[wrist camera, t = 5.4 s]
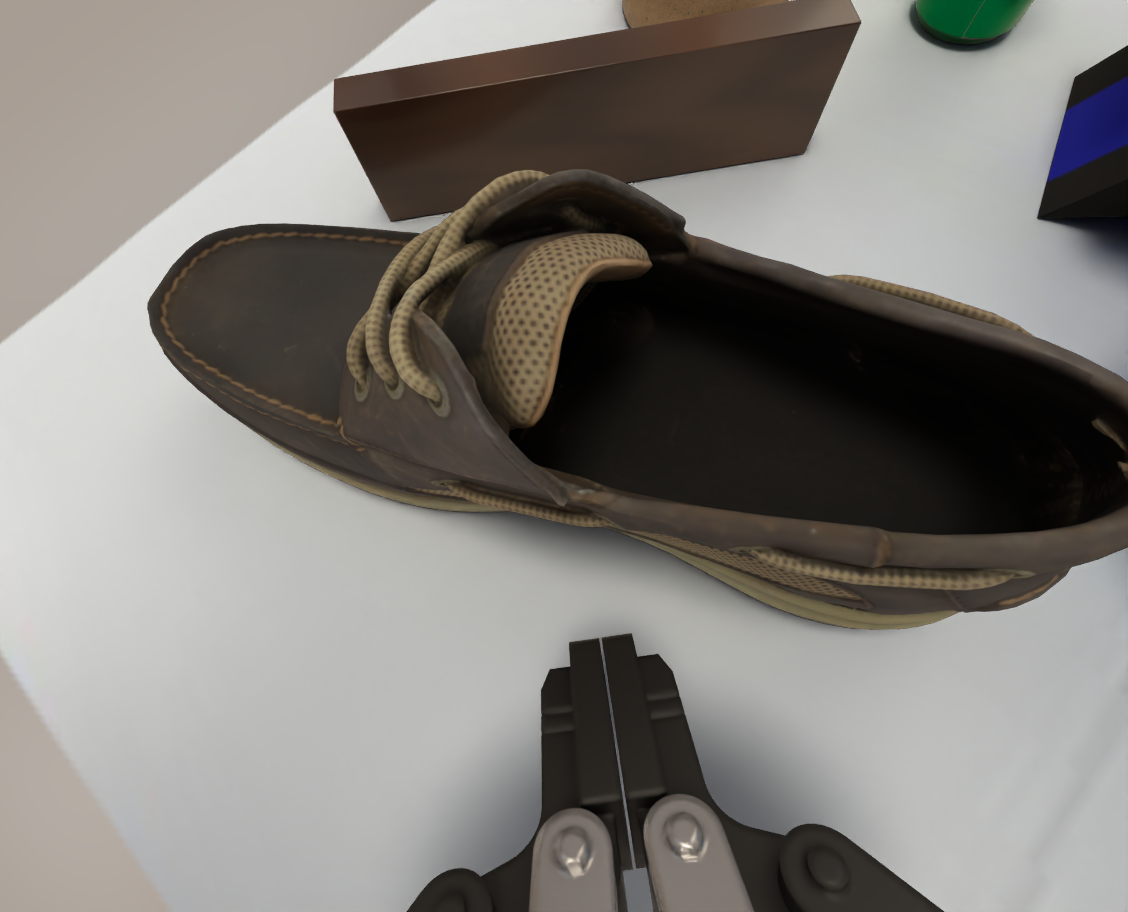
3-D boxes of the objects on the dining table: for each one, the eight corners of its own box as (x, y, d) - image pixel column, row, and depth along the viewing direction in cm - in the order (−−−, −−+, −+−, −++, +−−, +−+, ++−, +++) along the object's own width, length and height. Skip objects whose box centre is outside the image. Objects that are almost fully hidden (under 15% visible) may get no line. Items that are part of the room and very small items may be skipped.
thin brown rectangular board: (793, 126, 24) (846, -9, 19) (804, 153, 24) (862, 21, 19) (389, 193, 25) (333, 78, 20) (390, 221, 24) (332, 111, 19)
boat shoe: (303, 248, 24) (85, -28, 14) (963, 374, 20) (1349, 109, 10) (195, 457, 21) (-190, 301, 11) (951, 662, 17) (1508, 725, 6)
